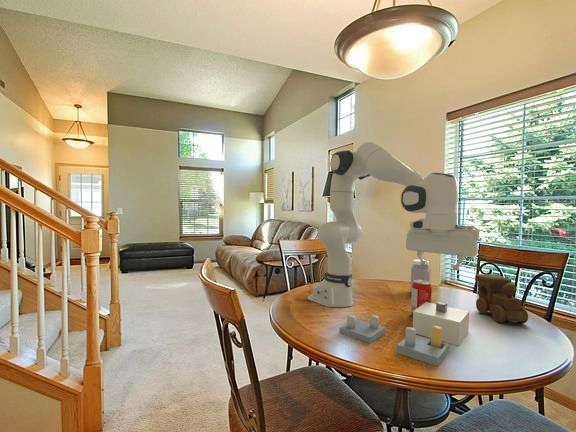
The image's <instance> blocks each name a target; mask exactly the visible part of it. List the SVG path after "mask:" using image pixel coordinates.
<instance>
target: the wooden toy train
mask: <svg viewBox="0 0 576 432" xmlns="http://www.w3.org/2000/svg"><path fill="white" fill-rule="evenodd" d="M474 281H476V282H477V294H478V295H477V296H478V298H477V299H476V301H475V308H476V309H477V311H478V312H479V313H480V314H482V315H486V314H487V313H488V312H490V313H491V315H492V318H493V320H494V321H495V322H496V323H497V324H498V323H499V324H503V323H505V322H506V321H507V322H517V323H519V324H521V323H522V324H525V323H527V322H528V320H529V314H528V310H527V309H526V308H525V307H524V306H522V300H521V299H519V298H517V297H515V296H514V295H515V294H516V292H517V290H518V289H517V287H516V285H515V284H513V283H512V279H510V278H508V277H504V276H501V275H498V274H497V275H496V274H489V273H488V274H487V273H485V274H484V273H481V274H475V275H474Z"/></svg>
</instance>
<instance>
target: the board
mask: <svg viewBox="0 0 576 432" xmlns="http://www.w3.org/2000/svg"><path fill="white" fill-rule="evenodd" d="M346 319H347V320H346V323H345V324H344V325H341V326H340V327H339V331H338V332H339V334H341V335H345V336H347V337H350V338H353V339H356V340H359V341H362V342H364V343H367V344H371V343H374V342H375V341H376V340H377V339H379V338H380V337H381V336H383V335H384V334H386V327H385V326H381V325H379V319H380V318H379V316H378V315H376V314H370V315H369V321H365V320H361V319H357V318H356V316H355V315H354V314H348V315H347V316H346Z"/></svg>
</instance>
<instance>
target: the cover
mask: <svg viewBox="0 0 576 432" xmlns="http://www.w3.org/2000/svg"><path fill="white" fill-rule="evenodd" d="M469 325H470V311H469V310H465V309H461V308H456V307H451V306H448V302H442V301H437V302H436V303H428V302H426V303H424V304H423V305H421V306H420V307H419V308H417V309H416V310H414V311H413V315H412V328H414V329H416V335H418V336H421V337H425V338H428V339H431V327H432V326H439V327H441V328H442V343H446V344H449V345H454V346H458V347H460V346H461V344H462V343H463V341H464V340H465V338H466V337H467V335H468V334H469V330H470V329H469V328H470V326H469Z"/></svg>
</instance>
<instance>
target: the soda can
mask: <svg viewBox="0 0 576 432" xmlns="http://www.w3.org/2000/svg"><path fill="white" fill-rule="evenodd" d="M432 297H433V286H432V284H431V281H430V282H428V281H424V280H414V282H413V284H412V292H411V300H410V314H411V315H412V316H413V311H414V310H416V309H417V308H419V307H420V306H421V305H423V304H424V303H426V302H428V303H432V299H433V298H432Z"/></svg>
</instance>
